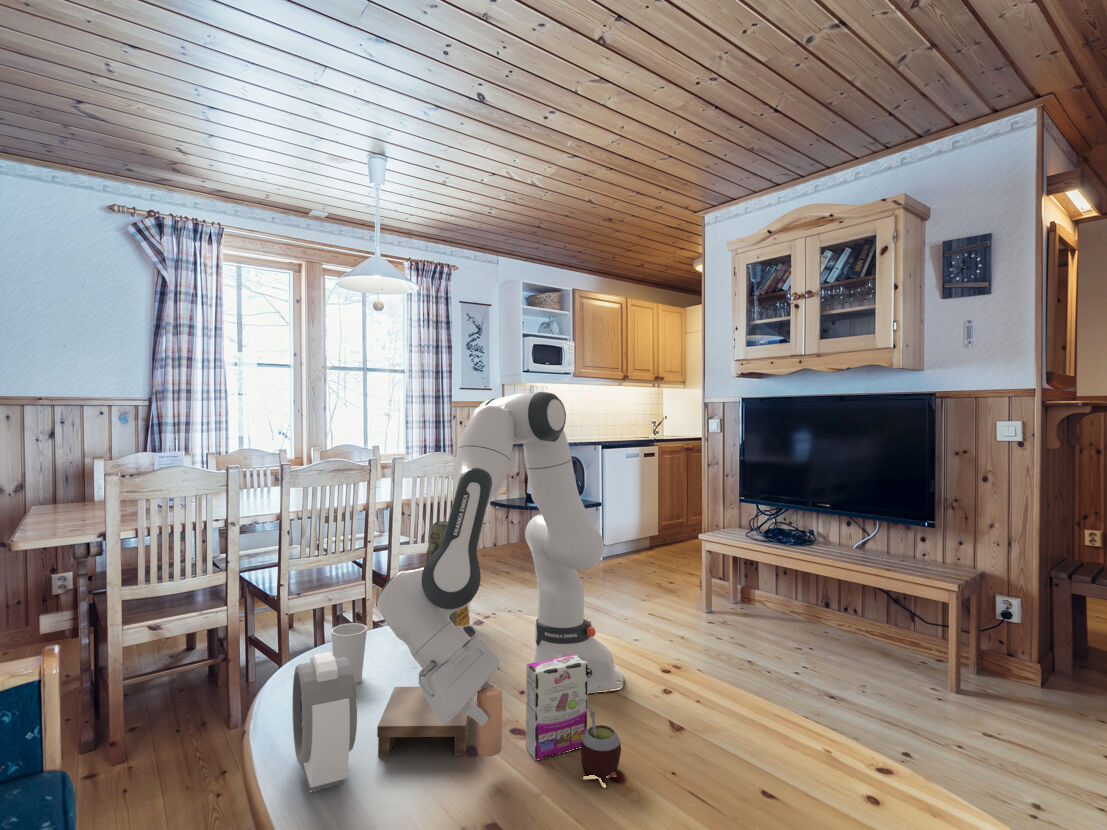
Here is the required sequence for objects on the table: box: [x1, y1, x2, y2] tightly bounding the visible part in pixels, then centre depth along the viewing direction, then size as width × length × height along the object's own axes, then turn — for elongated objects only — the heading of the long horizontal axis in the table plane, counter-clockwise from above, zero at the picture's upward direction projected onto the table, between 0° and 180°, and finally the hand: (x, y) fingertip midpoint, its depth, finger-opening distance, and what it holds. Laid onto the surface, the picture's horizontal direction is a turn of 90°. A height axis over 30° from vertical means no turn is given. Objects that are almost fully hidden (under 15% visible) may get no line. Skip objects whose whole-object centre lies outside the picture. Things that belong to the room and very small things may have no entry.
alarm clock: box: [291, 651, 358, 792], centre depth 106 cm, size 18×8×20 cm, turn 29°
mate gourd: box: [579, 704, 622, 783], centre depth 105 cm, size 8×8×15 cm
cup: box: [330, 622, 368, 685], centre depth 142 cm, size 8×8×12 cm
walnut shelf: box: [376, 686, 472, 757], centre depth 118 cm, size 16×16×6 cm
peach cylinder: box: [476, 686, 503, 757], centre depth 106 cm, size 4×4×10 cm
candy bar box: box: [525, 654, 588, 761], centre depth 115 cm, size 11×5×16 cm, turn 117°
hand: (492, 713), depth 106 cm, fingers closed on peach cylinder, 4 cm apart
